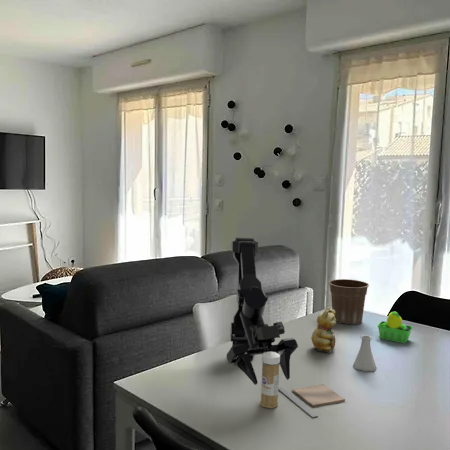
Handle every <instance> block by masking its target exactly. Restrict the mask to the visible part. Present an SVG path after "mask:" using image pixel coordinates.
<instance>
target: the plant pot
mask: <svg viewBox="0 0 450 450" xmlns="http://www.w3.org/2000/svg"><path fill="white" fill-rule="evenodd" d="M328 284H329V289H330V297H331V309H333V310H335V312H336V313H335V316H334V317H335V318H336V321H337V322H336V323H338V322H340V323H339V324H346V325H358V324H361V323H362V322H363V317H364V310H365V309H364V308H365V301H366V297H367V296H366V295H367V293H368V288H369V286H370V285H369V283H367V282H365V281H361V280H357V279H346V278H345V279H344V278H341V279H340V278H339V279H332V280H329V281H328Z"/></svg>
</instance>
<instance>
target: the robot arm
mask: <svg viewBox="0 0 450 450" xmlns="http://www.w3.org/2000/svg"><path fill="white" fill-rule="evenodd" d="M230 250H231V253H232V256H233V259H234V261H235V262H236V264H237V289H236V302H237V310H236V312H235V313H234V315H233V317H232V322H231V323H230V327H229V339H230V342H232V344H231V345H232V346H231V347H230V348H229V350H228V352H227V354H226V359H227V360H226V361H227V364H229V365H231V364H233V367H237V368H238V369H240V371H242V372H243V373H244V374H245V376H247V378H248V379H250V381H251V382H252V384H254V385H258V378H257V375H256V372H255V369H254V367H253V366H254V365H253V364H252V360H253V359H254V358H255V356H256V355H257V356H258V355H262V354H263V353H264V352H276V353H278V354H279V355H280V362H279V367H280V368H281V370H282V371H281V372H282V373H283V375H284V377H285V378H286V380H287V381H288V380H289V379H290V377H291V376H290V374H291V373H290V371H291V367H290V365H291V364H290V362H291V356H292V354H293V353H294V352H295V351H296V350H297V348H299V345H298V341H297V340H296V339H295V338H294V337H289V338H282V339H281V340H280V341H278V343H277V344H273V343H274V342H275V341H276V339H277V338H278V339H280V338H281V336H280V335H284V334H285V332H286V330H285V326H284V324H283V322H282V321H275V322H274V323H273V325H269V324H268V323H265V321H264V318H263V315H264V312H265V308H266V305H267V302H268V301H269V300H268V298H269V297H268V295H267V294H266V292H265V290H264V289H263V286H262V282H261V281H260V279H259V278H258V277H257V270H256V259H255V258H256V254H257V253H259V241H256V240H254V237H235V238H234V240H231V249H230Z"/></svg>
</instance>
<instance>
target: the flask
mask: <svg viewBox="0 0 450 450" xmlns="http://www.w3.org/2000/svg"><path fill="white" fill-rule="evenodd" d="M360 339H361V342H360V348H359V349H358V350H359V351H358V353H357V355H356V357H355V359H354V362H353V364H352V367H353V368H354V369H355V370H358V371H363V372H375V371H376V370H377V365H376V362H375V358H374V355H373V352H372V347H371V340H372V336H370V335H367V334H362V335H361V336H360Z"/></svg>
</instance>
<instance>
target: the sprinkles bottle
mask: <svg viewBox="0 0 450 450" xmlns="http://www.w3.org/2000/svg"><path fill="white" fill-rule="evenodd" d="M261 355H262V356H261V361H262V362H261V363H262V369H261V370H262V371H261V382H260V383H261V385H260V391H261V392H260V405H261V406H262V407H264V408H265V409H275V408H276V407H277V406H278V405H279V403H278V402H279V401H278V397H279V390H278V387H279V386H280V385H279V383H280V382H279V381H280V380H279V379H280V378H279V377H280V364H279V362H280V355H279V354H278V353H276V352H264V353H263V354H261Z"/></svg>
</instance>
